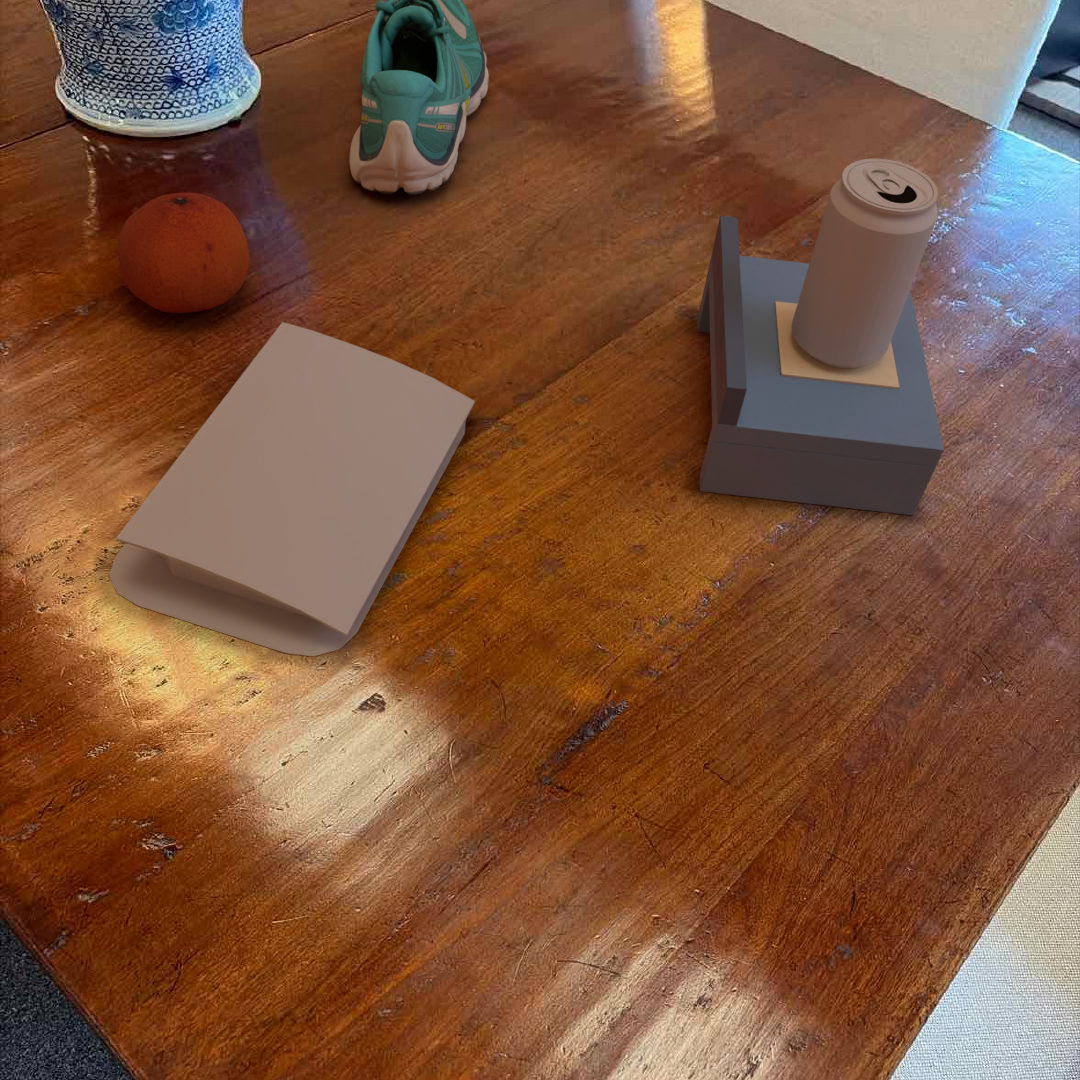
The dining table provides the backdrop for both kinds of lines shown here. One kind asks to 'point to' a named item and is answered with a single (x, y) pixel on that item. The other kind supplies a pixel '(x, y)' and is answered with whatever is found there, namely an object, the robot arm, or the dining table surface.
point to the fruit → (183, 253)
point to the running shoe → (416, 94)
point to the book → (293, 495)
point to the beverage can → (864, 262)
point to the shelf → (808, 398)
